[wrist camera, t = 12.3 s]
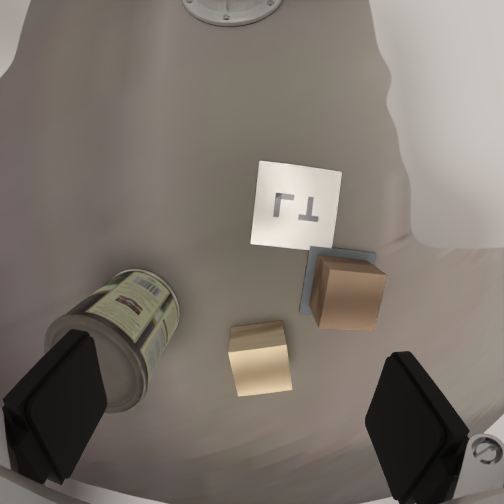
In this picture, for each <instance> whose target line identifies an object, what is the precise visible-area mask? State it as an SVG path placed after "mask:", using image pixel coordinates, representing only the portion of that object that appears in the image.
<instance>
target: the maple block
mask: <svg viewBox="0 0 504 504" xmlns="http://www.w3.org/2000/svg"><path fill="white" fill-rule="evenodd" d="M228 354H229V359H230V363H231V367H232V372H233V376H234V380H235V385H236V389H237V393H238V396H247V395H256V394H265V393H272V392H279V391H286V390H292V385H291V377H290V368H289V360H288V352H287V344H286V339H285V334H284V329H283V324H282V321H275V322H268V323H261V324H254V325H246V326H239V327H232V329H231V336H230V343H229V350H228Z"/></svg>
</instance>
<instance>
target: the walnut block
mask: <svg viewBox="0 0 504 504" xmlns="http://www.w3.org/2000/svg"><path fill="white" fill-rule="evenodd" d="M386 279H387V275H386V274H385V273H384V272H382V271H381V270H380V269H378V268H377V267H375V266H374V265H373V264H371V263H370V262H368V261H367V260H359V259H350V258H341V257H332V256H323V255H317V260H316V267H315V273H314V279H313V285H312V290H311V296H310V302H309V307H310V309H311V311H312V314H313V316H314V318H315V320H316V323H317V325H318V327H319V328H325V329H343V330H366V331H374V328H375V324H376V321H377V317H378V313H379V309H380V305H381V301H382V297H383V292H384V288H385V283H386Z"/></svg>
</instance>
